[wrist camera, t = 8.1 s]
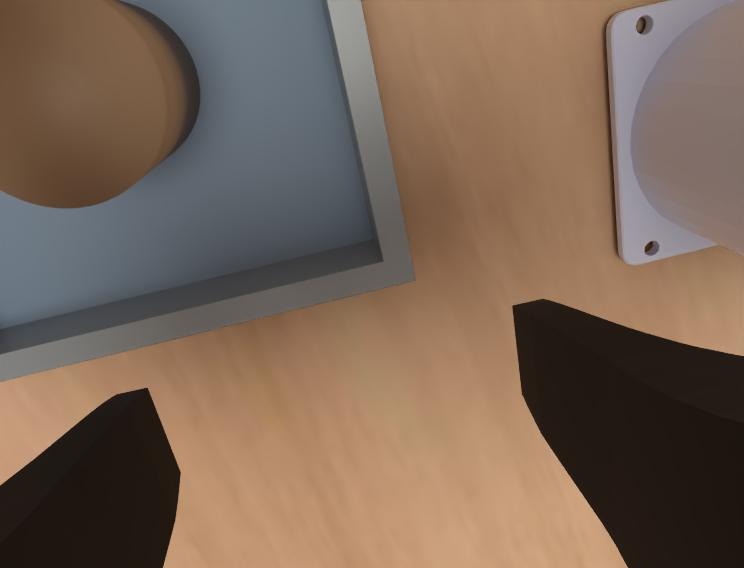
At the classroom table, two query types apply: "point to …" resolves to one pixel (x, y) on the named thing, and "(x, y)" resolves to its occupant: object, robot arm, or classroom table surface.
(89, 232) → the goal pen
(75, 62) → the walnut post
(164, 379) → the classroom table surface
